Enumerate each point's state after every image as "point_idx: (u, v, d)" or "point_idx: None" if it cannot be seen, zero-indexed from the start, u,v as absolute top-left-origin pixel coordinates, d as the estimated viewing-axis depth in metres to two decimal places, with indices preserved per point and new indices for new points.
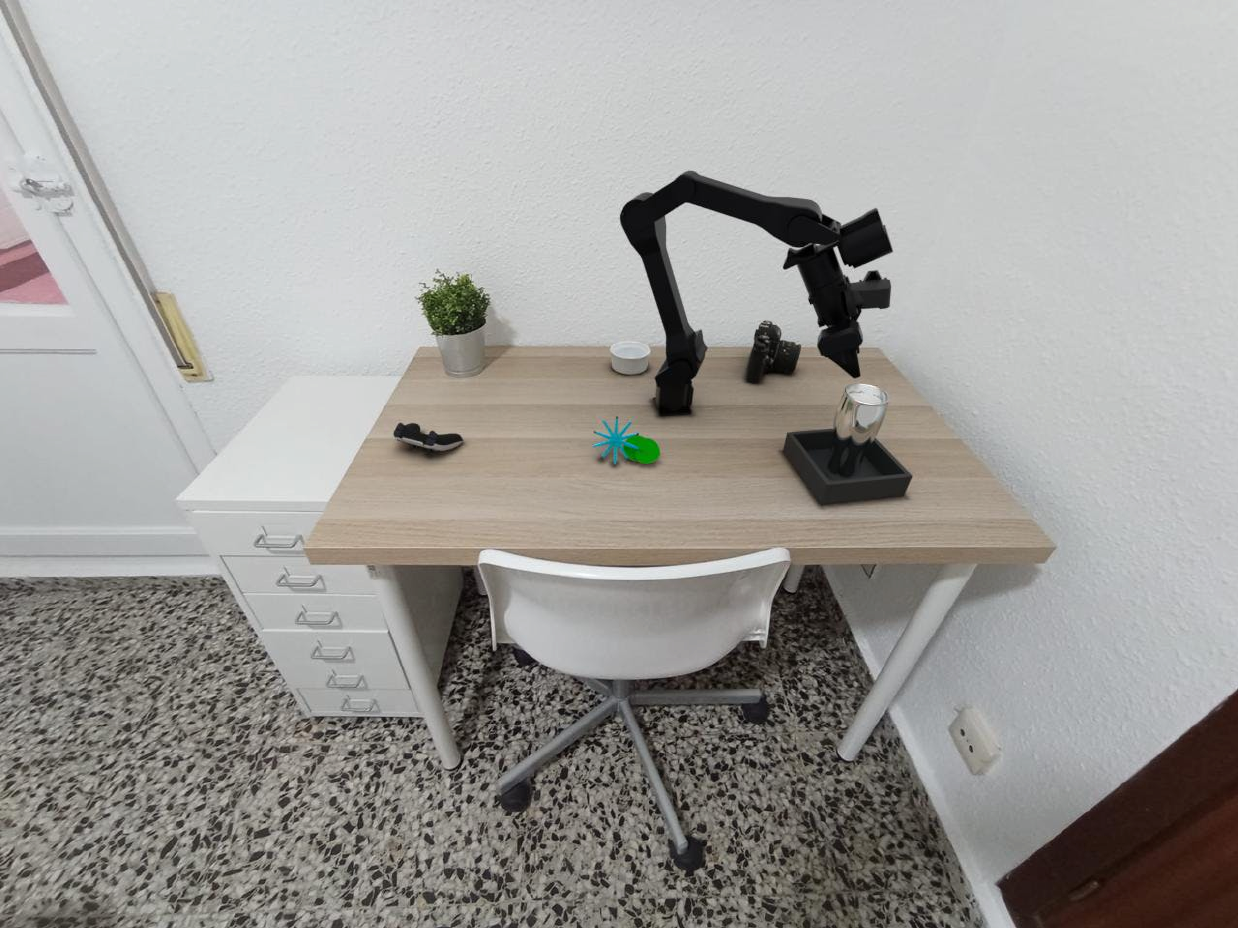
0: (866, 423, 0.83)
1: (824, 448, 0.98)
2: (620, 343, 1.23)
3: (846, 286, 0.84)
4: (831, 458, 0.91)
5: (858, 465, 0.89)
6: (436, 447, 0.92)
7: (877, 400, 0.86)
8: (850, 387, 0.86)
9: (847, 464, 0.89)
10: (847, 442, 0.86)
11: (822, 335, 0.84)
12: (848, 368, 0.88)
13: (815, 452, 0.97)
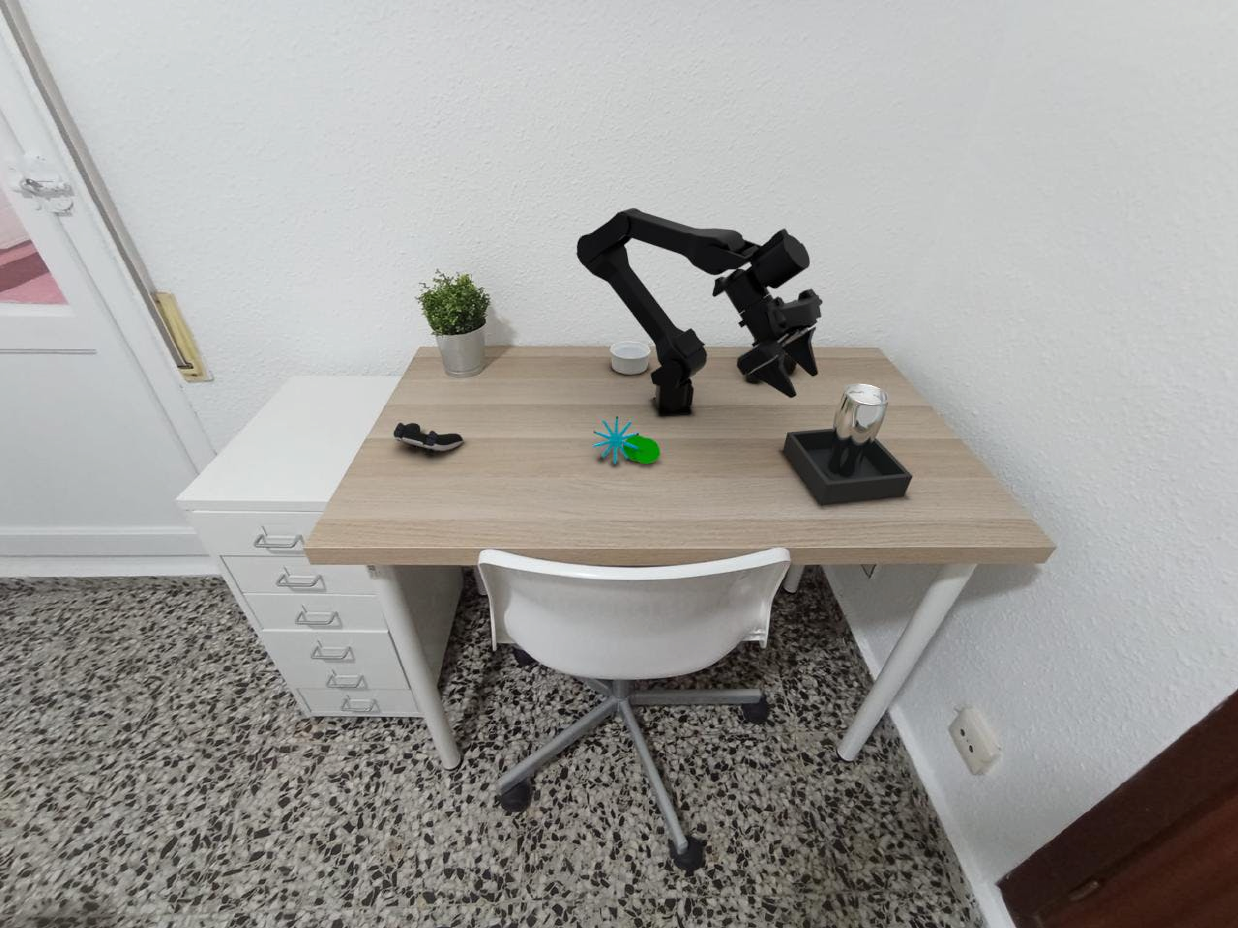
0: (866, 423, 0.83)
1: (824, 448, 0.98)
2: (620, 343, 1.23)
3: (767, 306, 0.85)
4: (831, 458, 0.91)
5: (858, 465, 0.89)
6: (436, 447, 0.92)
7: (877, 400, 0.86)
8: (850, 387, 0.86)
9: (847, 464, 0.89)
10: (847, 442, 0.86)
11: (741, 355, 0.85)
12: (780, 387, 0.86)
13: (815, 452, 0.97)
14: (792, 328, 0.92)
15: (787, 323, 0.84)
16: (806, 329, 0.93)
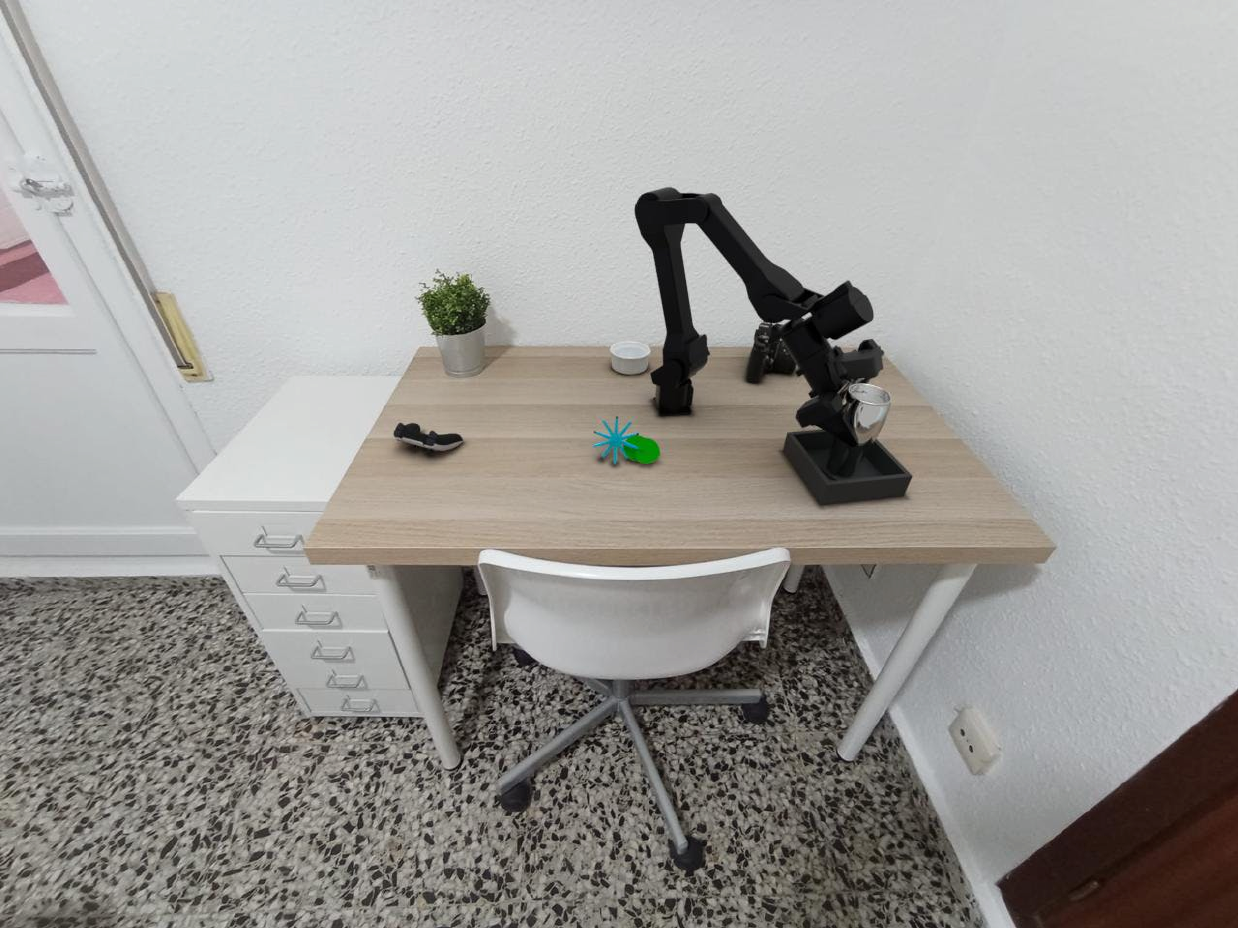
0: (869, 423, 0.83)
1: (824, 448, 0.98)
2: (620, 343, 1.23)
3: (827, 358, 0.83)
4: (831, 457, 0.90)
5: (858, 465, 0.89)
6: (436, 447, 0.92)
7: (879, 400, 0.86)
8: (853, 386, 0.86)
9: (848, 463, 0.89)
10: None
11: (800, 407, 0.83)
12: (842, 436, 0.85)
13: (815, 452, 0.97)
14: None
15: (848, 375, 0.82)
16: None
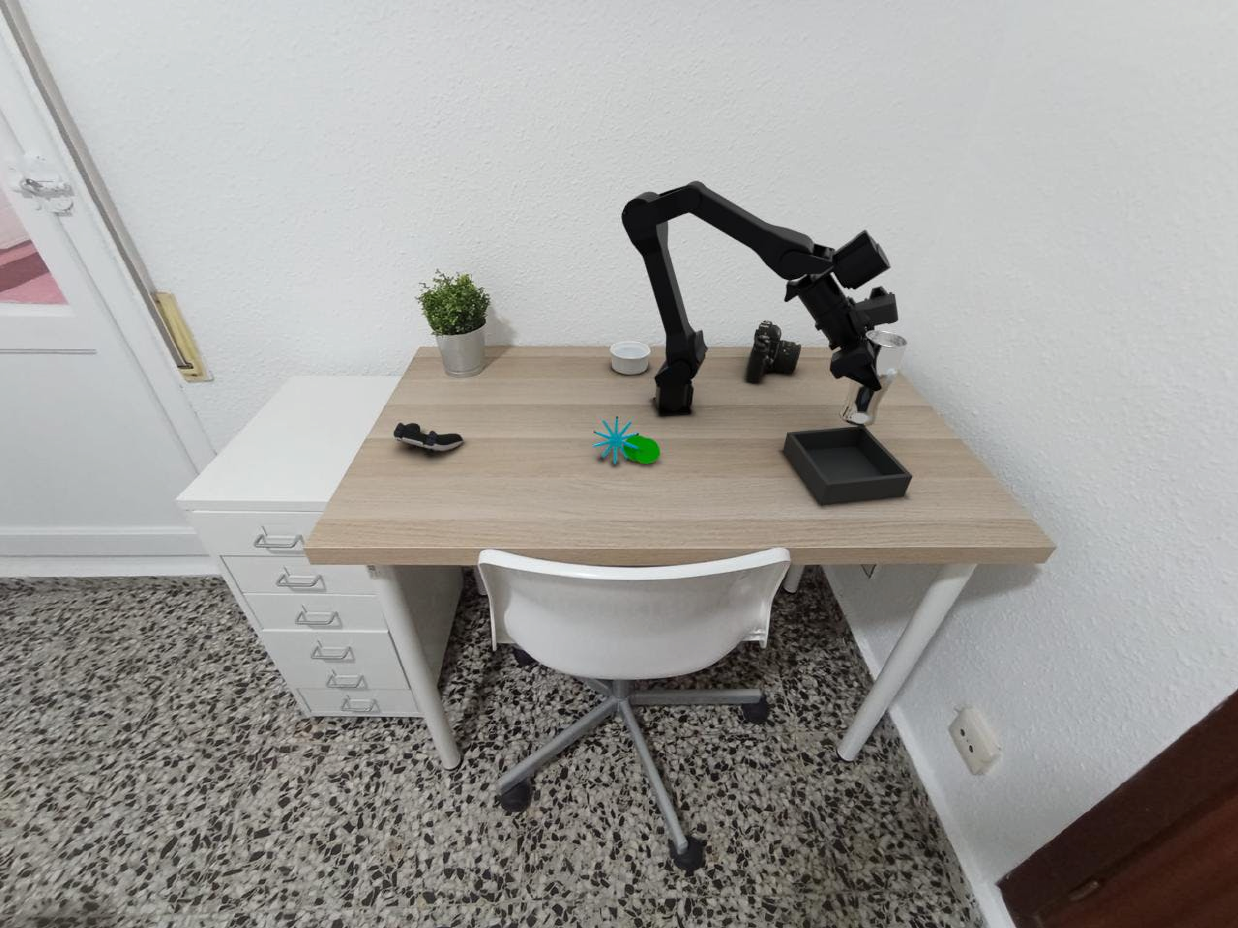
0: (891, 366, 0.87)
1: (824, 448, 0.98)
2: (620, 343, 1.23)
3: (849, 308, 0.85)
4: (851, 405, 0.94)
5: (876, 409, 0.94)
6: (436, 447, 0.92)
7: (890, 344, 0.91)
8: (867, 334, 0.90)
9: (868, 409, 0.93)
10: None
11: (833, 359, 0.85)
12: (867, 383, 0.89)
13: (815, 452, 0.97)
14: None
15: (871, 322, 0.85)
16: None
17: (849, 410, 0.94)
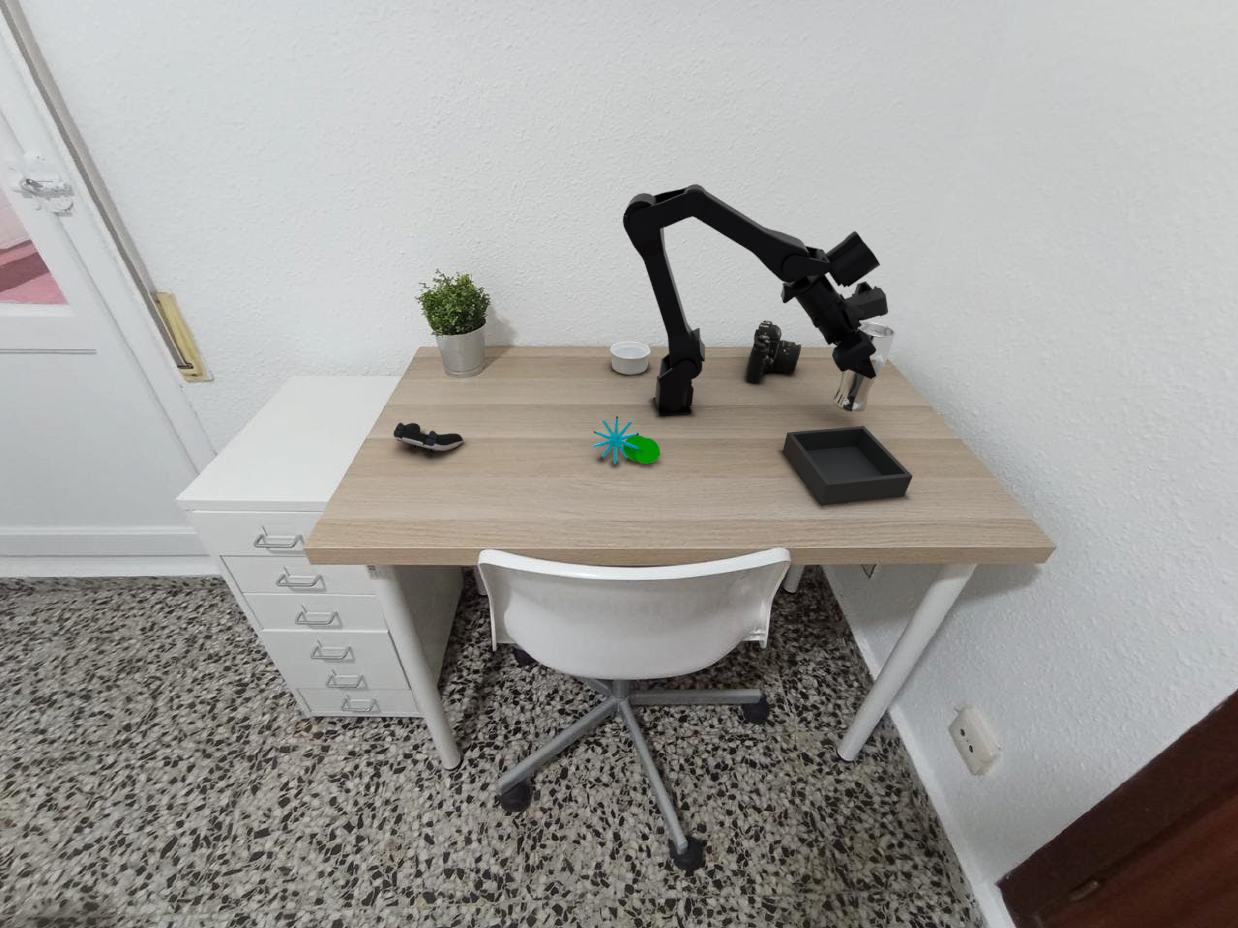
0: (883, 354, 0.95)
1: (824, 448, 0.98)
2: (620, 343, 1.23)
3: (845, 304, 0.91)
4: (846, 394, 1.00)
5: None
6: (436, 447, 0.92)
7: (875, 334, 0.98)
8: None
9: (862, 395, 1.00)
10: None
11: (837, 353, 0.90)
12: (864, 372, 0.95)
13: (815, 452, 0.97)
14: None
15: (865, 316, 0.91)
16: None
17: (844, 398, 1.01)
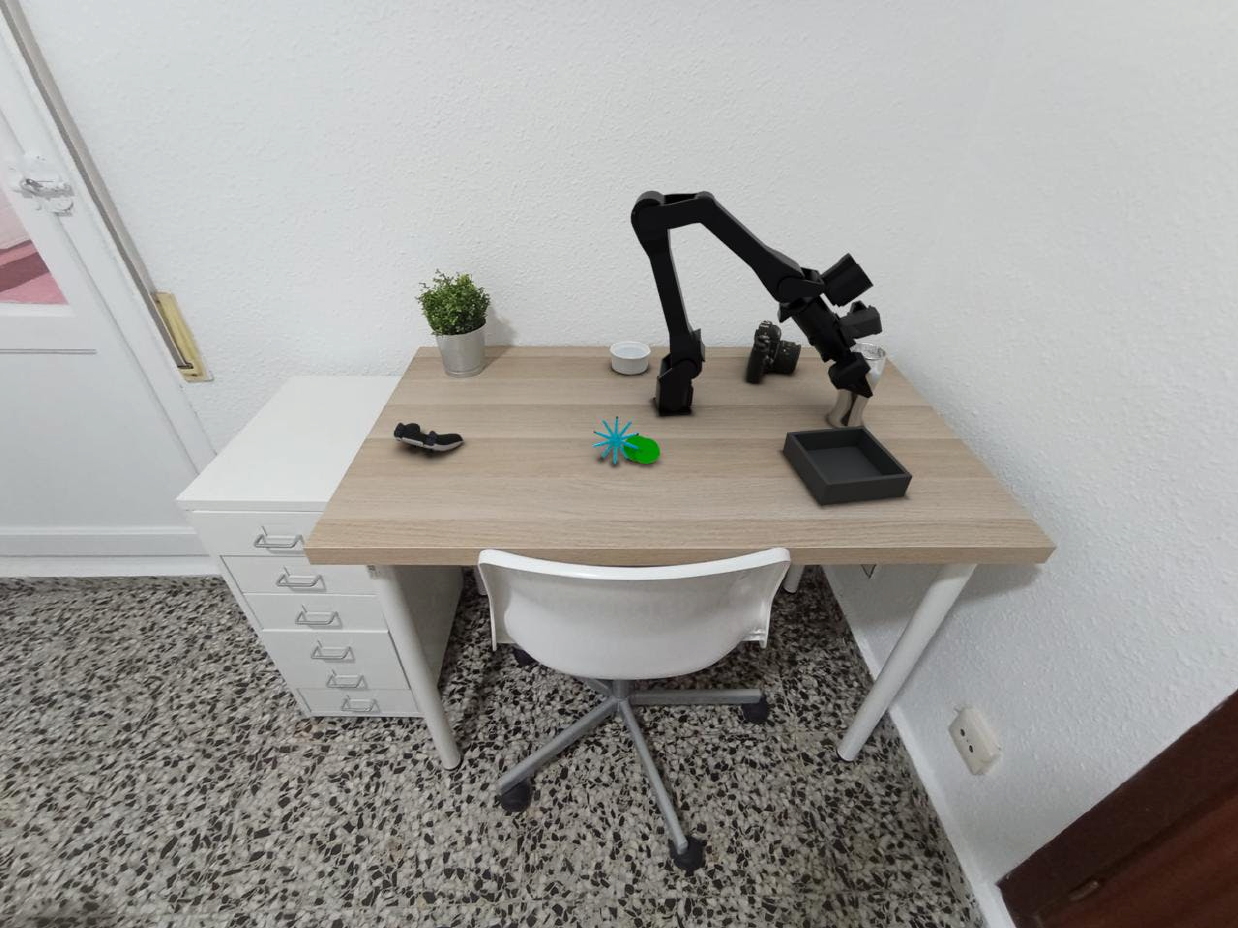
0: (876, 375, 0.97)
1: (824, 448, 0.98)
2: (620, 343, 1.23)
3: (840, 324, 0.93)
4: (841, 412, 1.03)
5: (862, 412, 1.03)
6: (436, 447, 0.92)
7: (868, 354, 1.00)
8: None
9: (856, 413, 1.02)
10: (859, 395, 0.99)
11: (833, 372, 0.92)
12: (861, 391, 0.96)
13: (815, 452, 0.97)
14: None
15: (860, 335, 0.93)
16: None
17: (839, 417, 1.03)
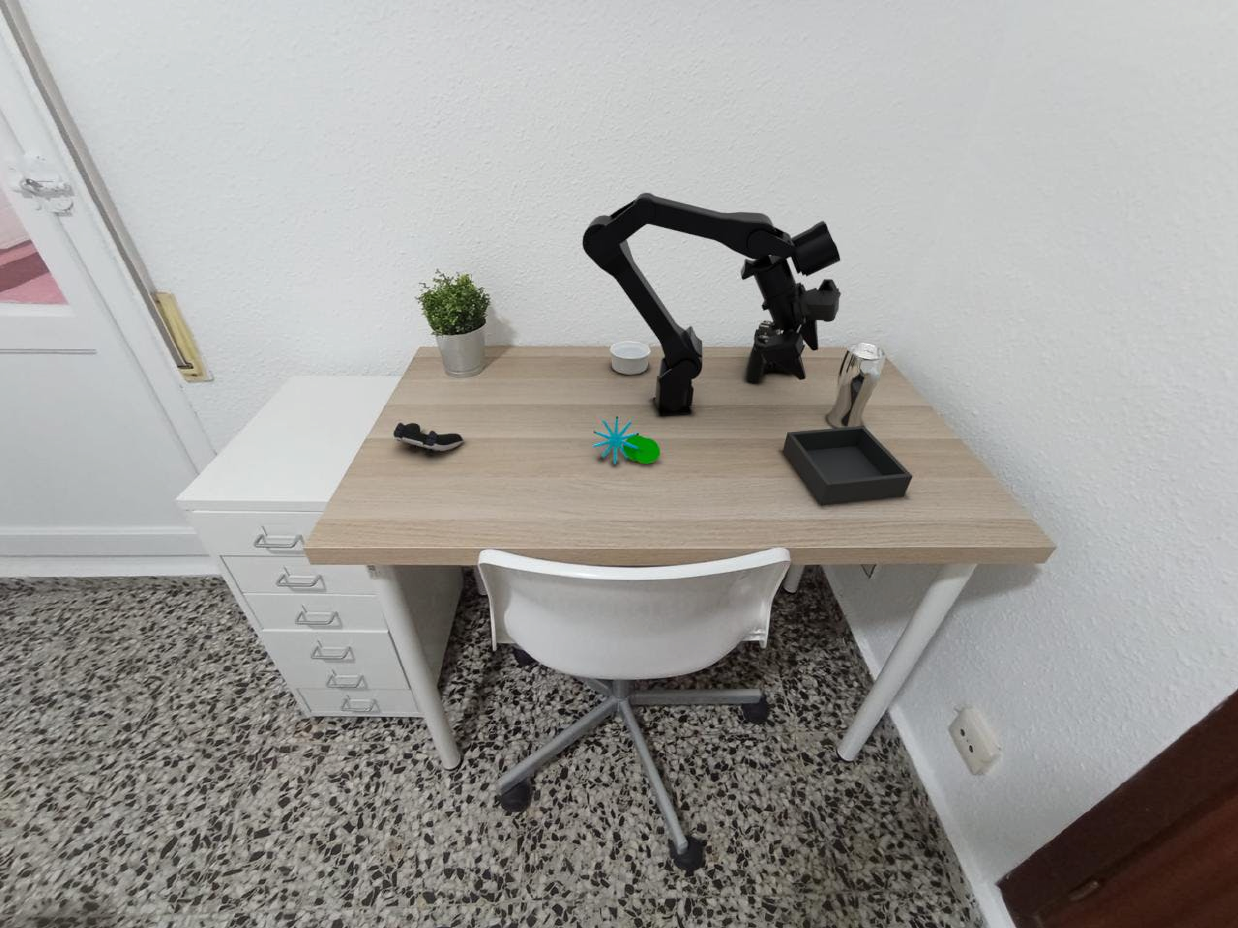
0: (875, 375, 0.97)
1: (824, 448, 0.98)
2: (620, 343, 1.23)
3: (794, 298, 0.90)
4: (841, 413, 1.03)
5: (862, 412, 1.03)
6: (436, 447, 0.92)
7: (867, 354, 1.00)
8: (848, 348, 0.99)
9: (856, 414, 1.02)
10: (859, 395, 0.99)
11: (766, 344, 0.92)
12: (793, 371, 0.96)
13: (815, 452, 0.97)
14: None
15: (810, 316, 0.91)
16: None
17: (839, 417, 1.03)
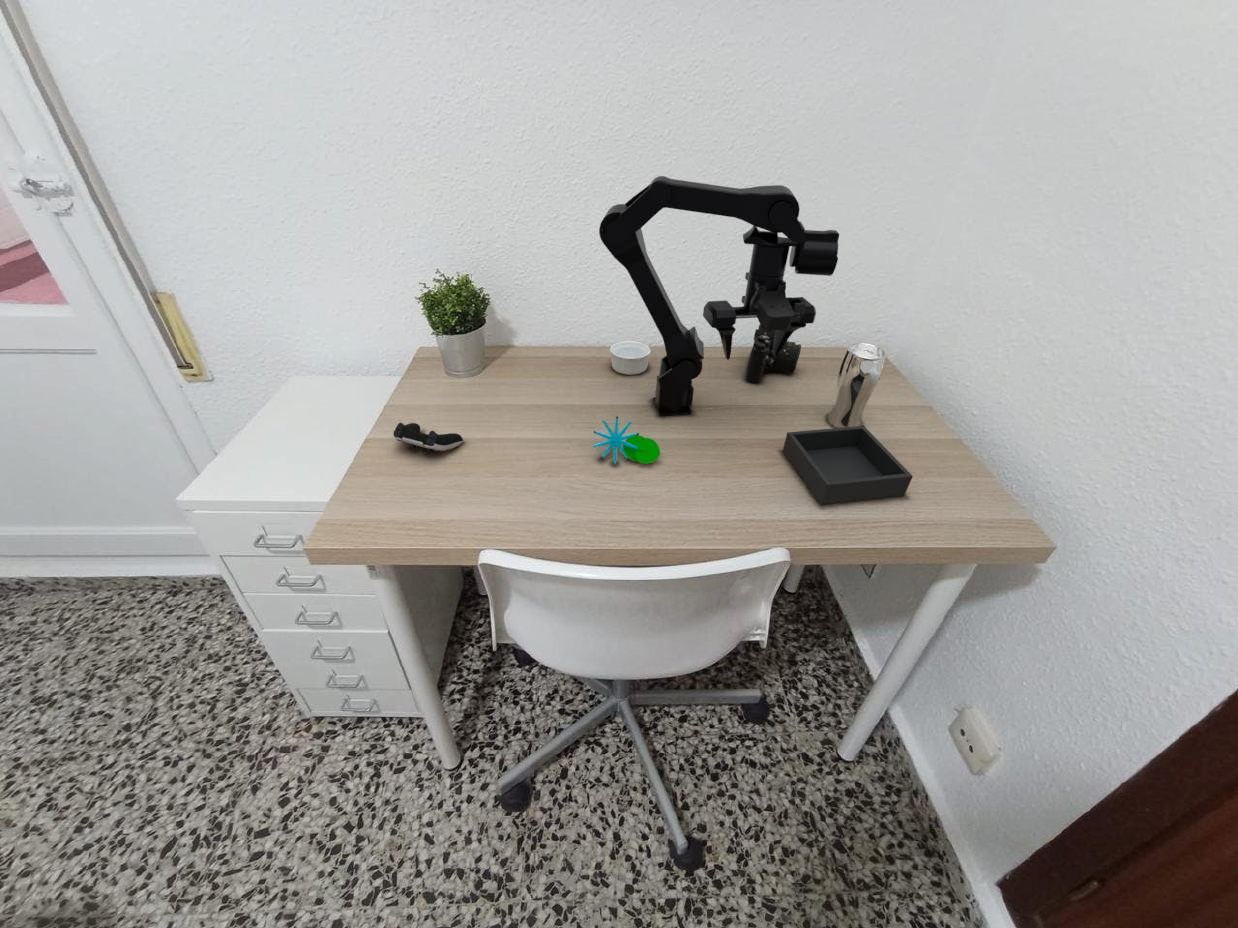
0: (875, 375, 0.97)
1: (824, 448, 0.98)
2: (620, 343, 1.23)
3: (758, 286, 0.90)
4: (841, 413, 1.03)
5: (862, 412, 1.03)
6: (436, 447, 0.92)
7: (867, 354, 1.00)
8: (848, 348, 0.99)
9: (856, 414, 1.02)
10: (859, 395, 0.99)
11: (713, 301, 0.95)
12: (723, 345, 0.99)
13: (815, 452, 0.97)
14: None
15: (757, 312, 0.91)
16: None
17: (839, 417, 1.03)
